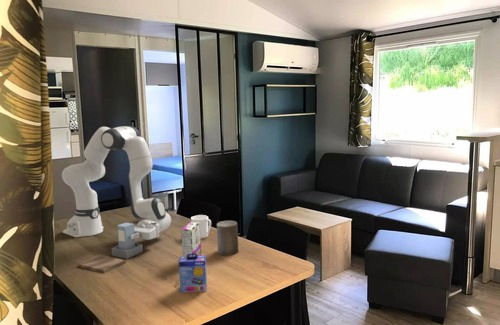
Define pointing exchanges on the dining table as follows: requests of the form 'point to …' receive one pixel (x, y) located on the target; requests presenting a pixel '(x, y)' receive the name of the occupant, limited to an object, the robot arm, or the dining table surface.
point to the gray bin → (127, 251)
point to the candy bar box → (191, 239)
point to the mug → (202, 224)
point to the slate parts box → (125, 236)
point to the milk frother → (163, 199)
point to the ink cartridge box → (192, 273)
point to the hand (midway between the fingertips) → (124, 236)
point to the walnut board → (102, 263)
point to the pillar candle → (227, 237)
